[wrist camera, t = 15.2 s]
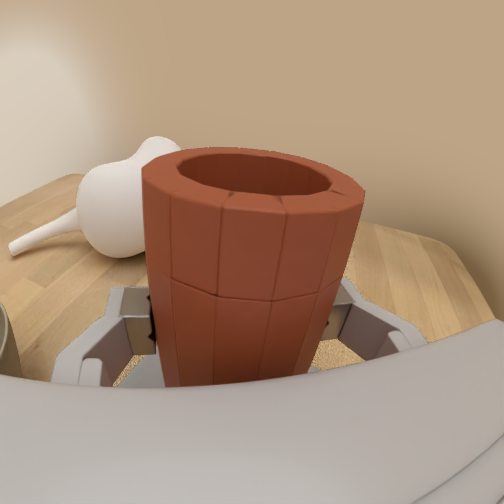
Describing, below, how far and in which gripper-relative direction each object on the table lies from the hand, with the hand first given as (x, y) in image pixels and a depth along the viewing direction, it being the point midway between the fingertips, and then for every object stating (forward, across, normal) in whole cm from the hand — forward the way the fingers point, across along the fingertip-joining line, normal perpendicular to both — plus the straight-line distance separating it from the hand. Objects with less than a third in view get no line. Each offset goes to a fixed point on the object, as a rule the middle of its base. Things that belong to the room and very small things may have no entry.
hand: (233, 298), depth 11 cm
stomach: (+25, +10, +11) cm, 30 cm away
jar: (-1, 0, +6) cm, 6 cm away
